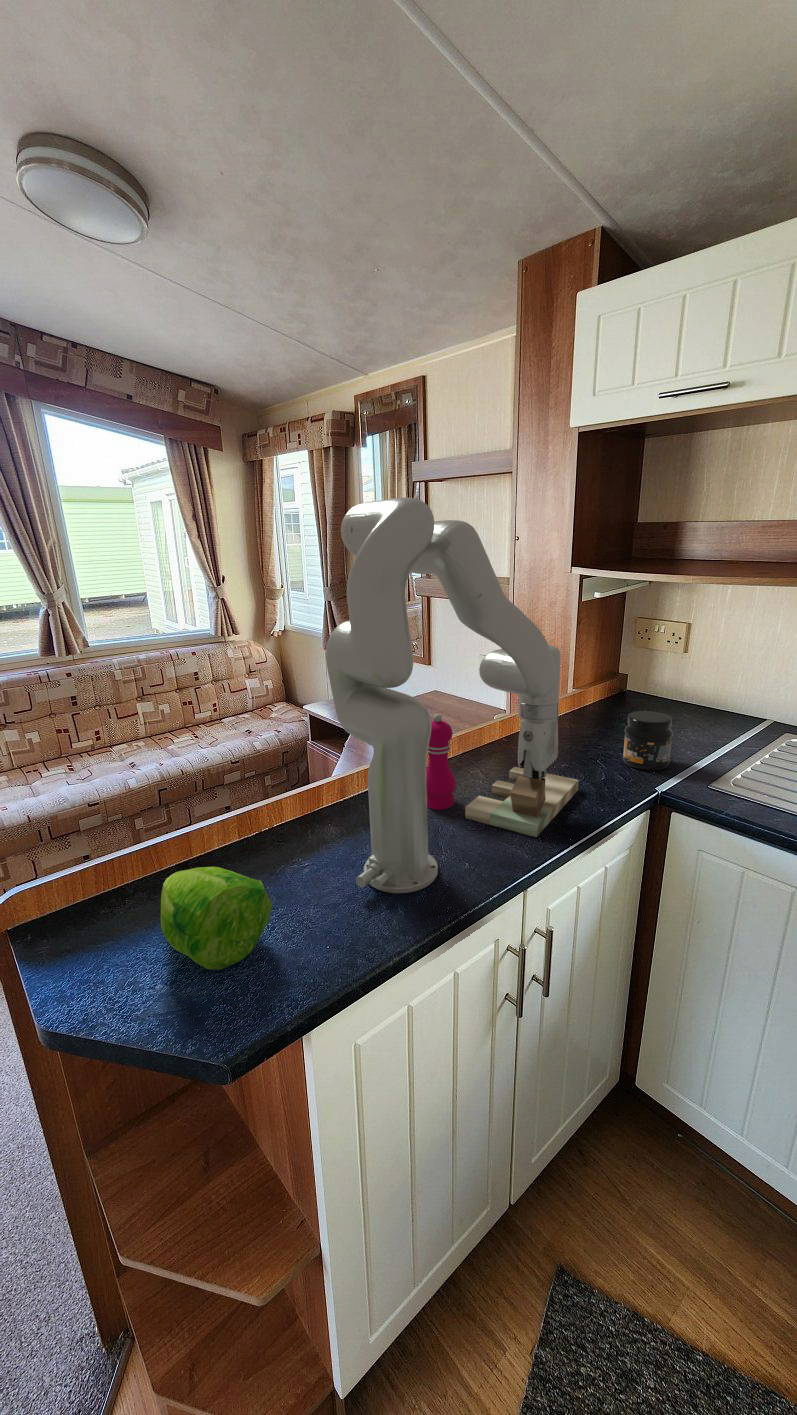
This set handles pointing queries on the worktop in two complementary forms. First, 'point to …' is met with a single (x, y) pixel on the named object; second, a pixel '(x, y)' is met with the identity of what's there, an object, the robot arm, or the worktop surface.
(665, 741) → the supplement container
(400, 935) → the worktop surface
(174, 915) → the lettuce
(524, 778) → the walnut block
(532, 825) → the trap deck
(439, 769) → the pepper mill
